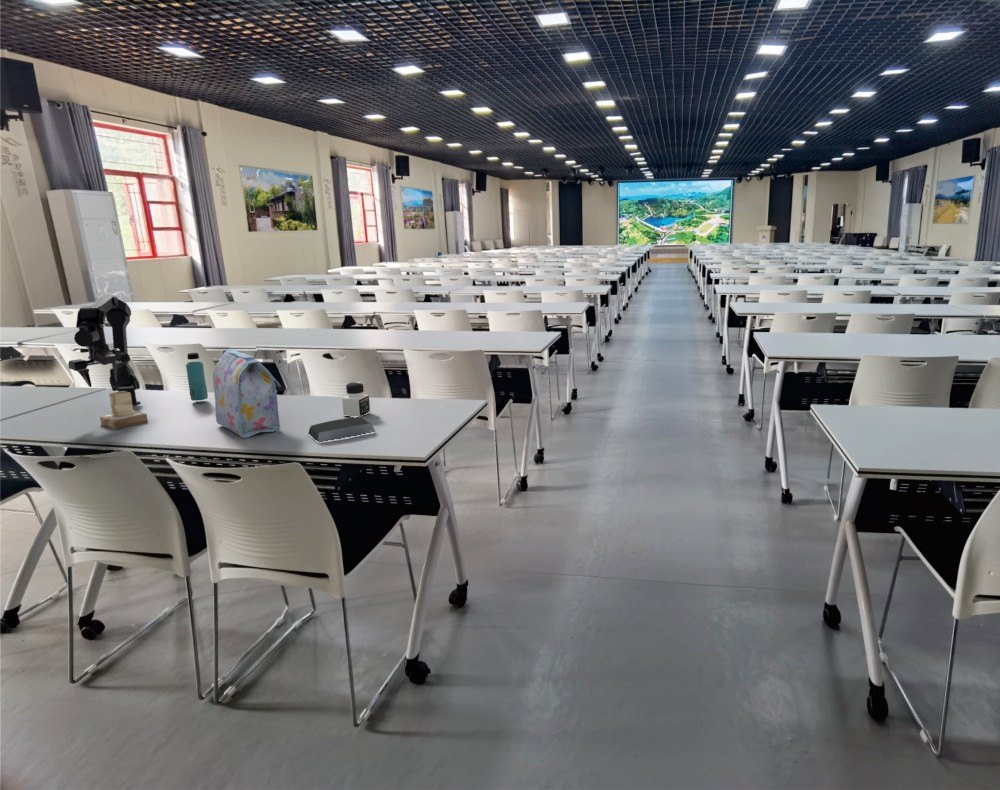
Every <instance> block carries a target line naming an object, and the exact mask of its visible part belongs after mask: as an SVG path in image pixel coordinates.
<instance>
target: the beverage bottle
mask: <svg viewBox="0 0 1000 790" xmlns="http://www.w3.org/2000/svg"><path fill="white" fill-rule="evenodd" d="M199 358H200V356H199V353H198V352H190V353H187V360H192V361H188V362H187V363H186V364H185V368H186V373H187V374H186V375H187V383H188V389H189V397H190V400H191V401H194V402H198V401H205V400H207V399H208V397H209V395H208V394H209V392H208V391H207V390H208V388H207V381H206V377H205V369H204V363H203V362H202V361H200V360H198V359H199Z"/></svg>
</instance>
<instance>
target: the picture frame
mask: <svg viewBox="0 0 1000 790" xmlns="http://www.w3.org/2000/svg"><path fill="white" fill-rule="evenodd" d="M133 411H134V414H132V415H128V416H124V417H116V416H113V414H112V413H111V414H105V415H101V416H99V418H100V419H99V420H100V425H101V426H104V427H106V428H110V429H113V430H122V429H125V428H128V427H133V426H136V425H141V424H145V423H148V422H149V421H148V414H147V413H145V412H142V411H139V410H135V409H133Z"/></svg>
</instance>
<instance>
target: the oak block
mask: <svg viewBox="0 0 1000 790" xmlns="http://www.w3.org/2000/svg"><path fill="white" fill-rule="evenodd" d="M108 397H109V402H110V407H111V414H113V416H116V417H124V416H128V415H132V414H134V411H133V410H134V405H132V399H131V393H130V392H127V391H119V392H118V391H113V392H111V393H108Z"/></svg>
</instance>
